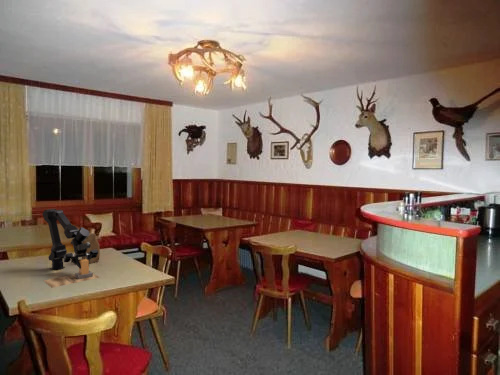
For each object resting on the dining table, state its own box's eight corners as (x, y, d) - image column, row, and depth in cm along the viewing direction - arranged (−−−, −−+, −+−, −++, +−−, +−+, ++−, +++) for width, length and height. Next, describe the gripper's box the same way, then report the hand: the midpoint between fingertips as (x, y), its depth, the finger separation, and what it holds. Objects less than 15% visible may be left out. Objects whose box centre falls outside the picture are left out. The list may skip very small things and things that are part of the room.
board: (51, 289, 193) (51, 287, 193) (43, 282, 204) (43, 280, 204) (99, 279, 211) (99, 277, 211) (89, 273, 222) (89, 271, 222)
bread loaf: (84, 264, 240) (83, 235, 239) (81, 262, 246) (80, 233, 245) (100, 262, 247) (100, 233, 246) (97, 259, 253) (96, 232, 252)
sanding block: (78, 279, 207) (78, 262, 206) (75, 276, 212) (74, 259, 212) (92, 276, 212) (92, 260, 212) (88, 273, 218) (88, 257, 217)
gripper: (64, 240, 207) (70, 263, 200) (97, 236, 220) (103, 257, 213) (60, 251, 214) (66, 273, 206) (92, 246, 226) (99, 267, 219)
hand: (84, 267), depth 211 cm, fingers closed on sanding block, 4 cm apart
